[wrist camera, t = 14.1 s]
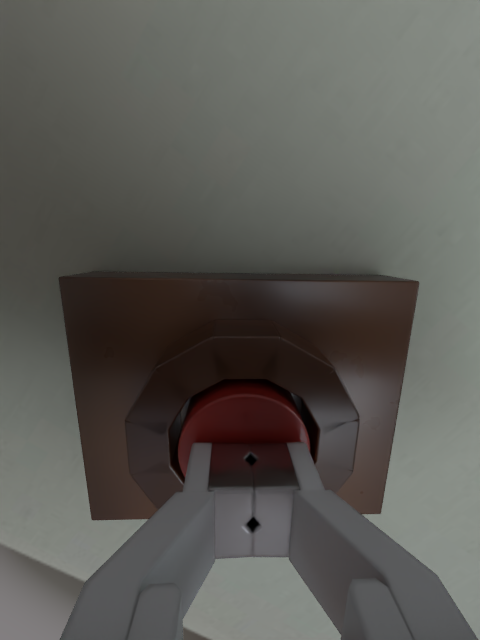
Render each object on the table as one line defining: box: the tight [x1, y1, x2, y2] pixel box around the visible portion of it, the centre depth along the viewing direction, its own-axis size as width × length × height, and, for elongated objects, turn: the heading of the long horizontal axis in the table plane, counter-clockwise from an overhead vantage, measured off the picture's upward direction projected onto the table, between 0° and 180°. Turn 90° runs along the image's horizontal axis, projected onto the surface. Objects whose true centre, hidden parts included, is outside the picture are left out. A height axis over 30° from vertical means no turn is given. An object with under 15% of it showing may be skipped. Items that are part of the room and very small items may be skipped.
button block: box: [59, 271, 419, 520], centre depth 10 cm, size 11×9×4 cm
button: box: [178, 379, 310, 477], centre depth 9 cm, size 4×4×2 cm
